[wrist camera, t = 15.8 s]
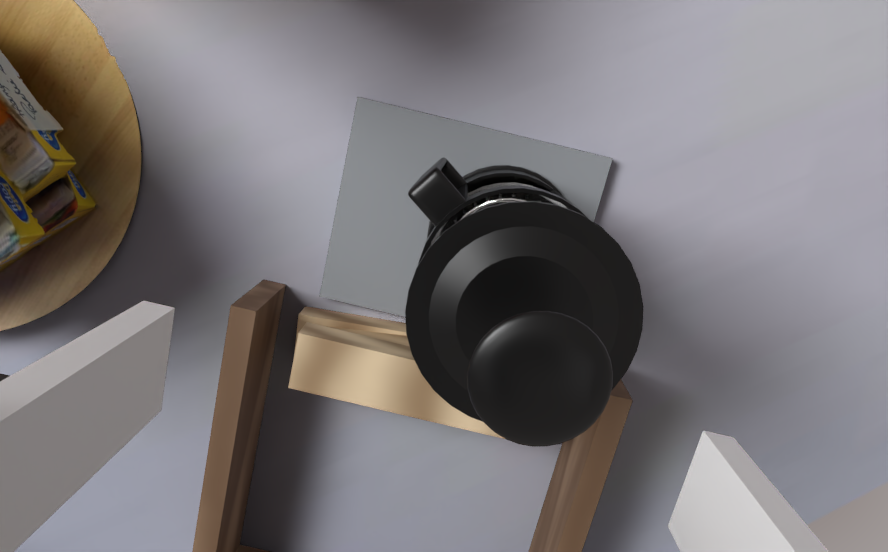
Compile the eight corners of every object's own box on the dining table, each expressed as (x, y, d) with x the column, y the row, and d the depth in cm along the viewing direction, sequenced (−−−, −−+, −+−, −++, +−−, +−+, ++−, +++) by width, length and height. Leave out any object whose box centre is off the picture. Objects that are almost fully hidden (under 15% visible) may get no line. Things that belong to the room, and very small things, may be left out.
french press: (612, 255, 40) (791, 420, 18) (499, 346, 42) (533, 600, 20) (492, 111, 38) (525, 96, 16) (379, 212, 40) (266, 325, 18)
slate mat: (322, 293, 43) (319, 296, 42) (359, 97, 39) (357, 97, 39) (553, 348, 43) (555, 352, 42) (609, 157, 40) (612, 158, 39)
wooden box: (217, 553, 48) (107, 743, 34) (263, 279, 43) (155, 364, 28) (526, 624, 48) (549, 842, 34) (611, 361, 43) (681, 487, 28)
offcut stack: (299, 363, 44) (273, 401, 38) (306, 300, 43) (280, 329, 37) (557, 407, 44) (570, 451, 38) (571, 344, 43) (586, 381, 37)
